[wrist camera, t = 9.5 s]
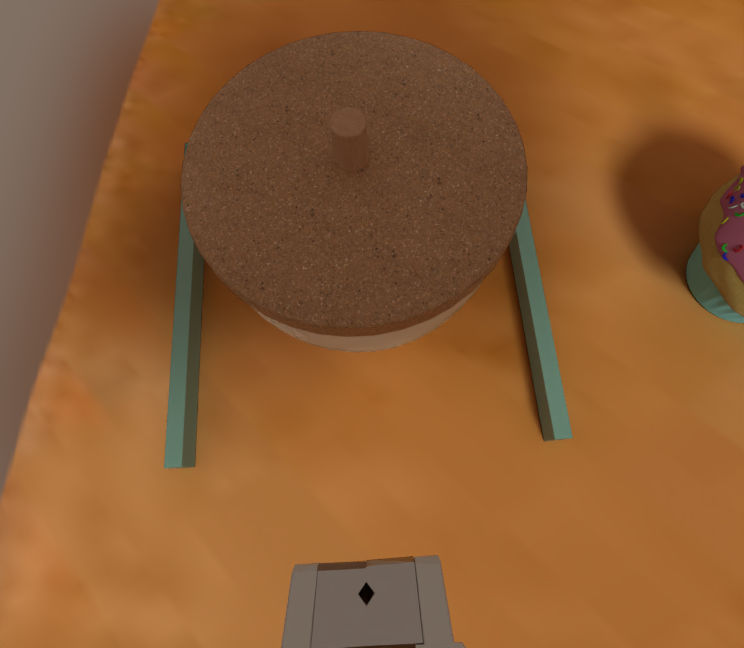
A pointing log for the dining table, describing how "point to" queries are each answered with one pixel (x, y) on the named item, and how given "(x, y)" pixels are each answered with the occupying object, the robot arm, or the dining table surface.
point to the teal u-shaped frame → (189, 337)
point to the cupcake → (721, 253)
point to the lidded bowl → (354, 187)
